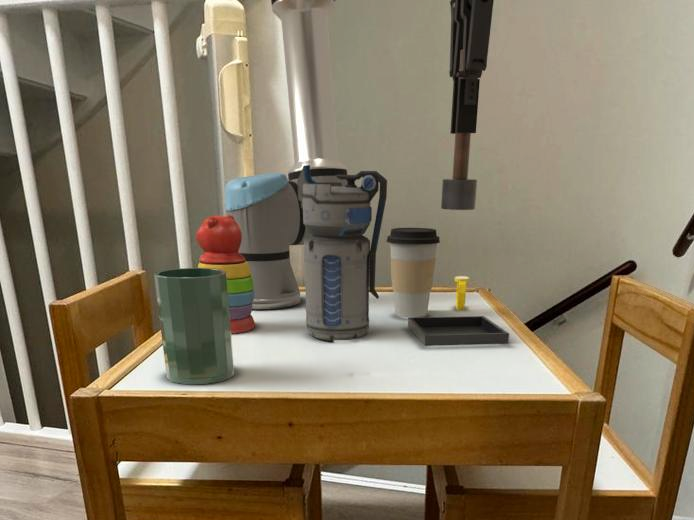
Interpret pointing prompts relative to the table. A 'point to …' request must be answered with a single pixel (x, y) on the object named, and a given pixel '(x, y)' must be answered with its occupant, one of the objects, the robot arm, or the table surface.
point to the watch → (461, 291)
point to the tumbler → (195, 324)
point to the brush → (460, 173)
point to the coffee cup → (412, 269)
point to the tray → (457, 330)
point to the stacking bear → (229, 266)
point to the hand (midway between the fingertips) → (462, 133)
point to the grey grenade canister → (340, 252)
